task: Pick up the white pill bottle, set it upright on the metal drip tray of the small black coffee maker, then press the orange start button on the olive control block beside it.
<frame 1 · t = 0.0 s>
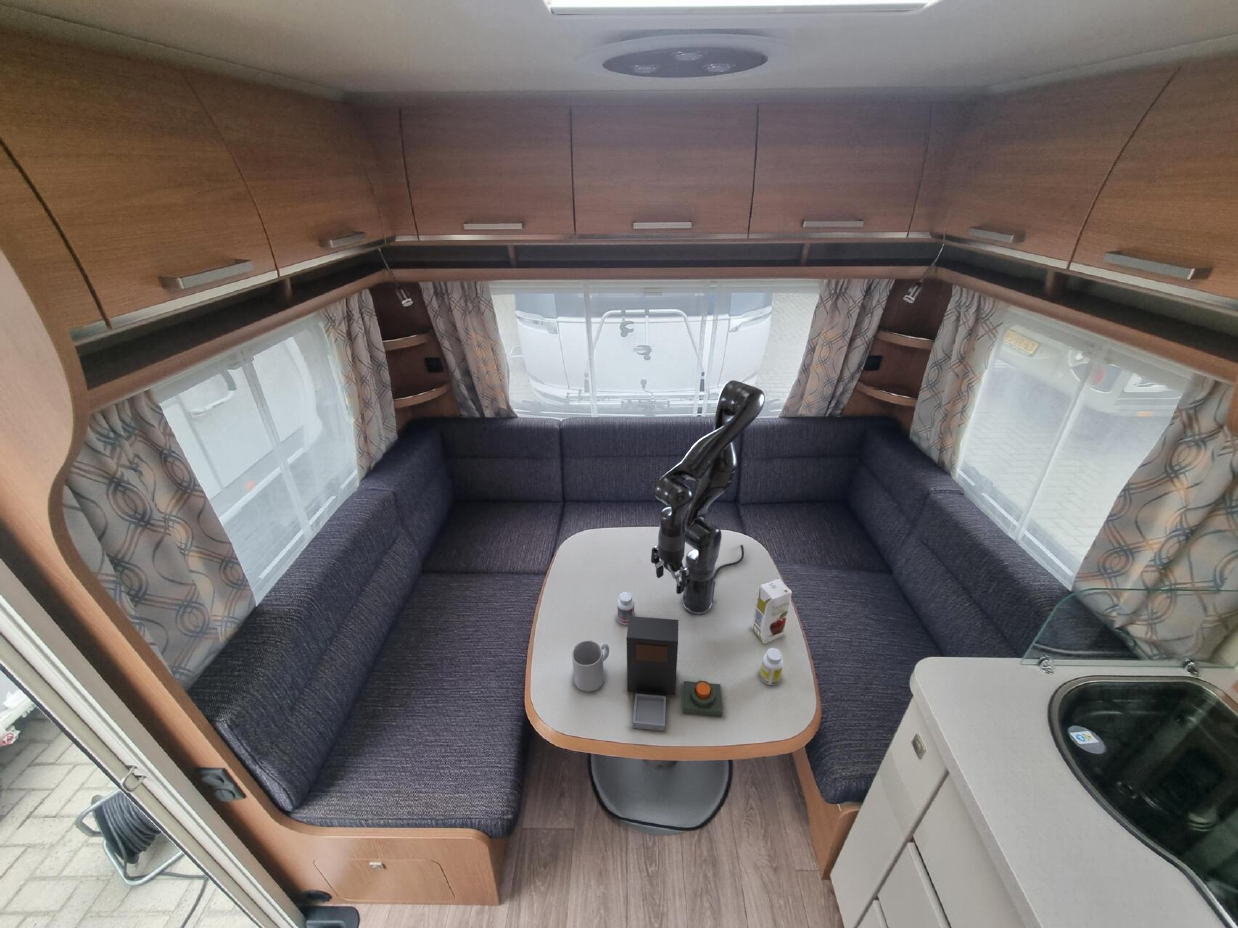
hand: (669, 584, 145), 17 cm above the table, tool pointing down, fingers open, 8 cm apart
pill bottle: (626, 618, 156), on the table
juice carton: (766, 633, 150), on the table
mug: (593, 674, 139), on the table
supplement bottle: (769, 677, 137), on the table
button block: (701, 700, 131), on the table
coffee maker: (649, 714, 128), on the table
start button: (703, 690, 129), point 4 cm above the table, slide at 0.1 cm
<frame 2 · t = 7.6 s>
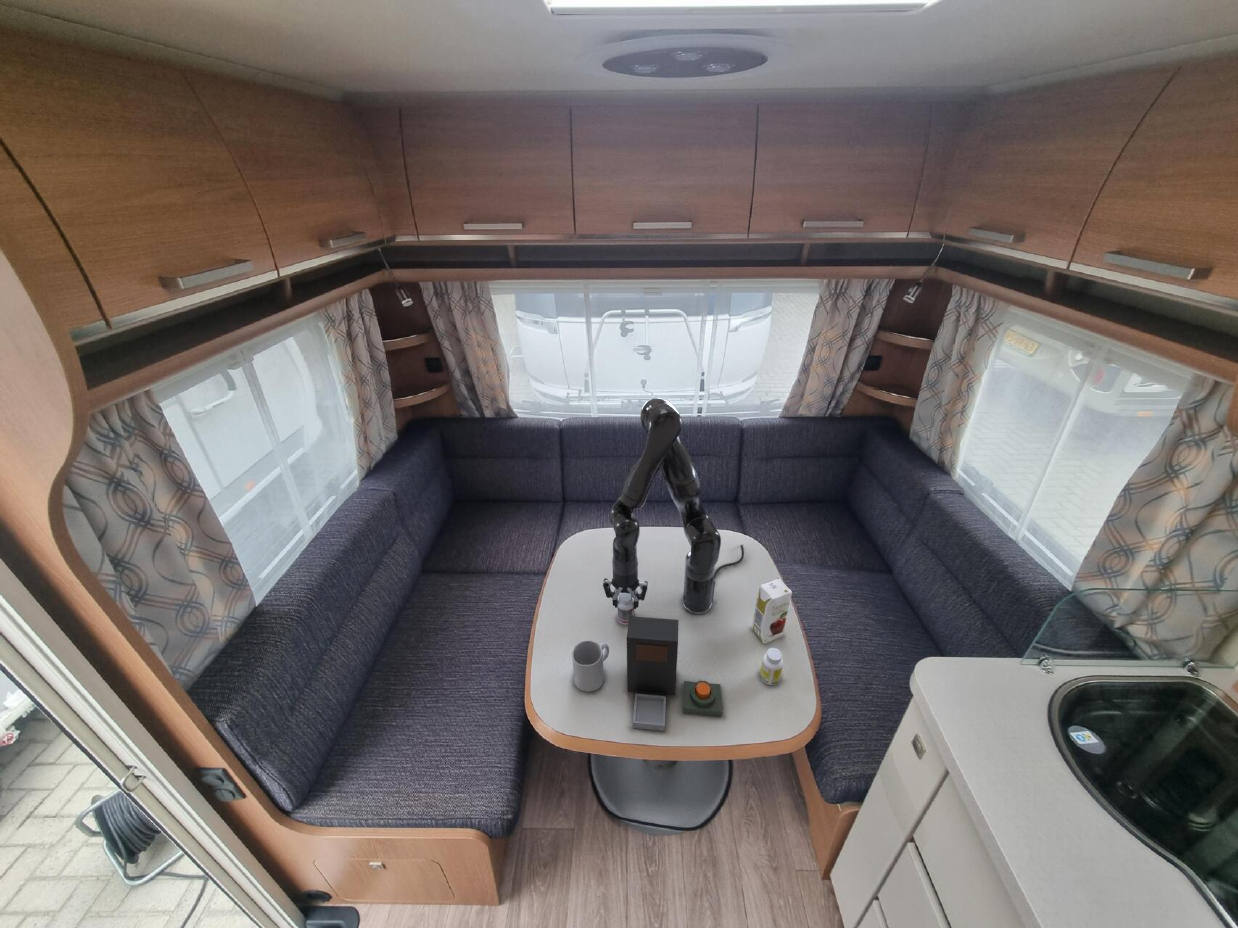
hand: (625, 606, 154), 5 cm above the table, tool pointing down, fingers closed on pill bottle, 5 cm apart
pill bottle: (626, 618, 156), on the table, touching gripper
everything else where it was.
when the fingers open (6 cm above the table, at t = 18.6 s): pill bottle stays where it is, resting on coffee maker.
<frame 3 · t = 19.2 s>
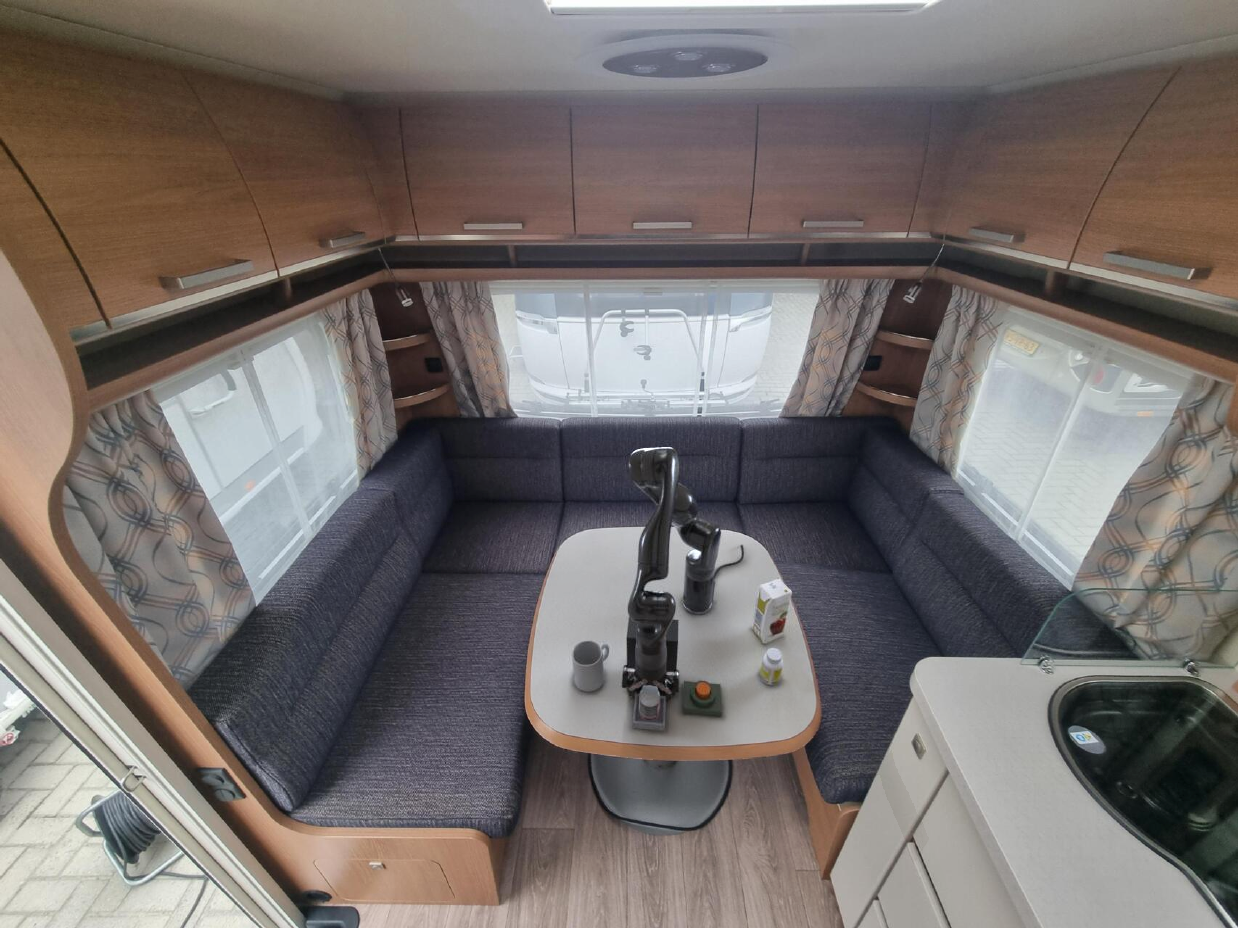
hand: (650, 697, 125), 7 cm above the table, tool pointing down, fingers open, 8 cm apart
pill bottle: (649, 712, 128), point 1 cm above the table, touching coffee maker
everything else where it was.
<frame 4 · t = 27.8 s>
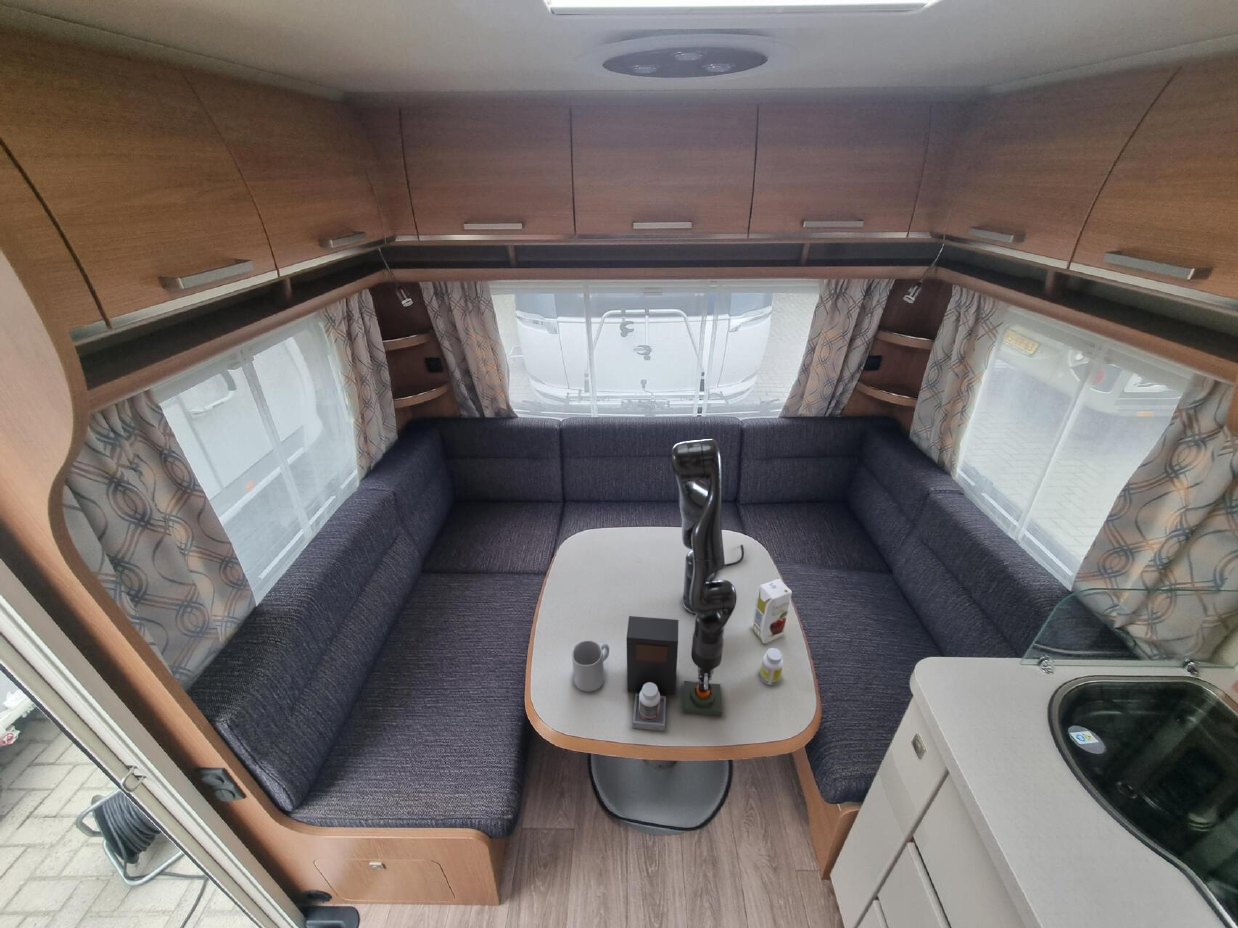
hand: (702, 689, 129), 5 cm above the table, tool pointing down, fingers closed
start button: (703, 690, 129), point 4 cm above the table, slide at -0.1 cm, touching gripper
everything else where it was.
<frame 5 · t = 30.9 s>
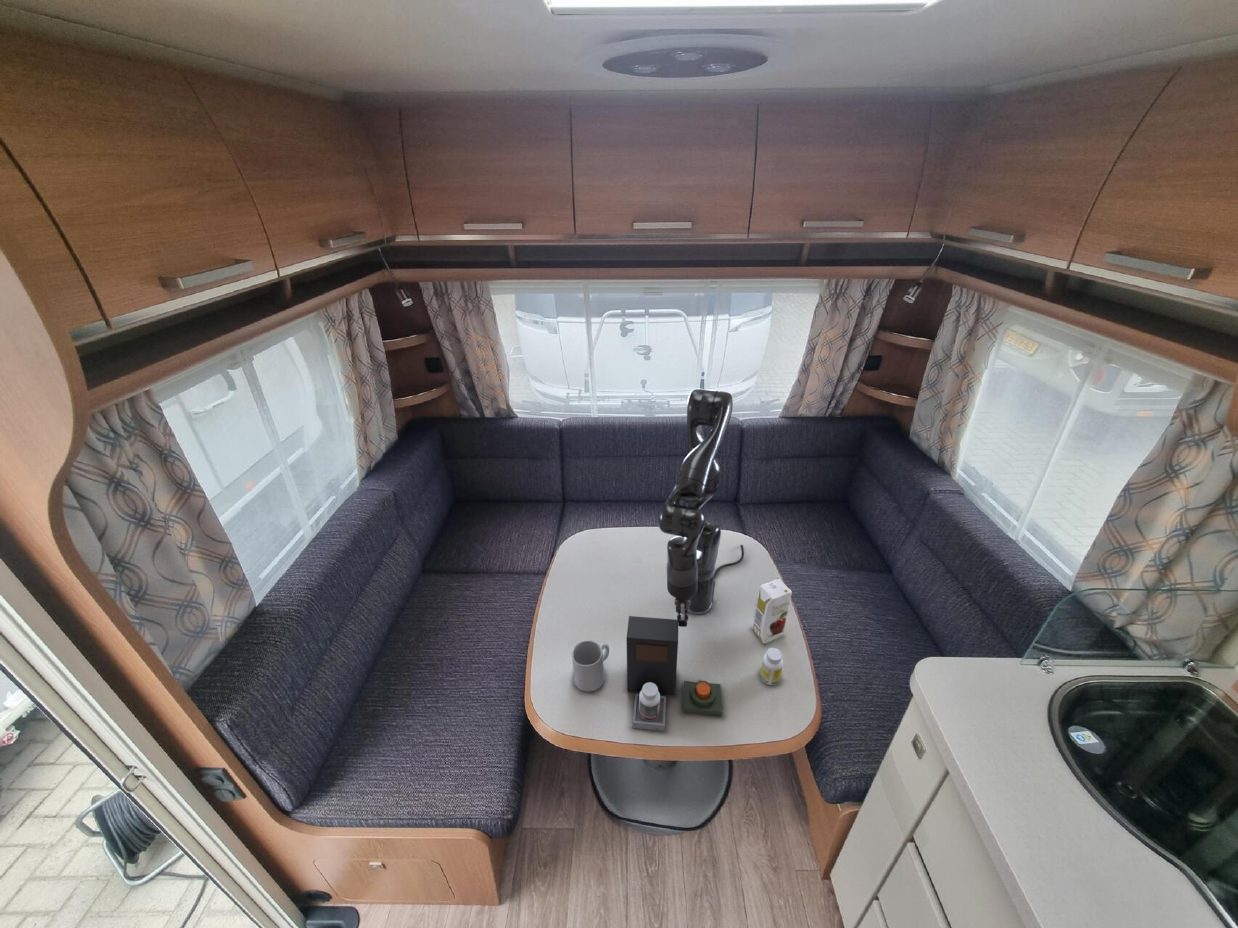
hand: (682, 624, 128), 20 cm above the table, tool pointing down, fingers closed
start button: (703, 690, 129), point 4 cm above the table, slide at 0.1 cm
everything else where it was.
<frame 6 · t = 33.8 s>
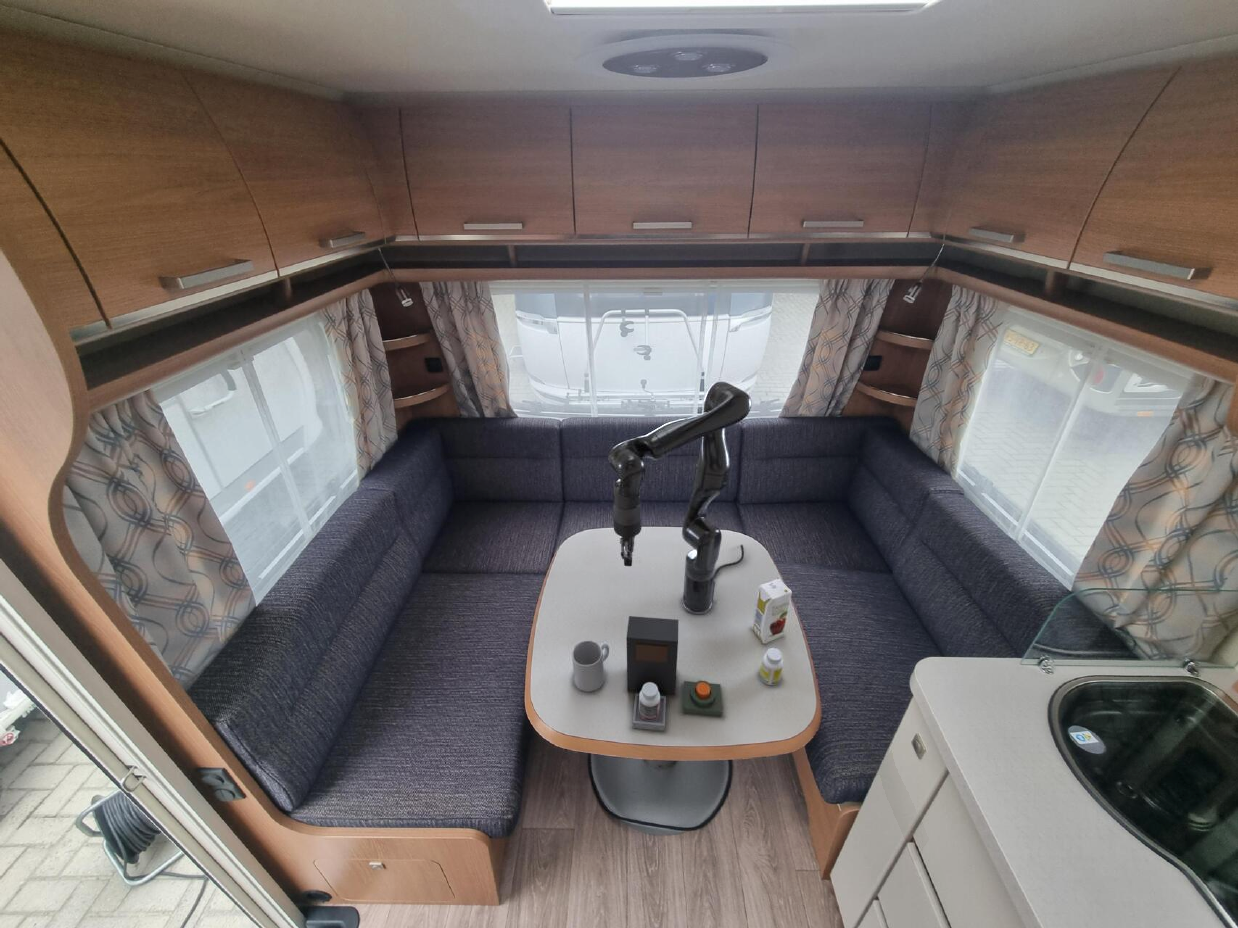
hand: (628, 564, 139), 27 cm above the table, tool pointing down, fingers closed
nothing on the table moved.
at the end: pill bottle 0.1 cm off-centre on the coffee maker, point 0.6 cm above the coffee maker's base; pill bottle tilted 0°; start button pushed in 1.1 cm at the most during the clip, back to where it started at the end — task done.
